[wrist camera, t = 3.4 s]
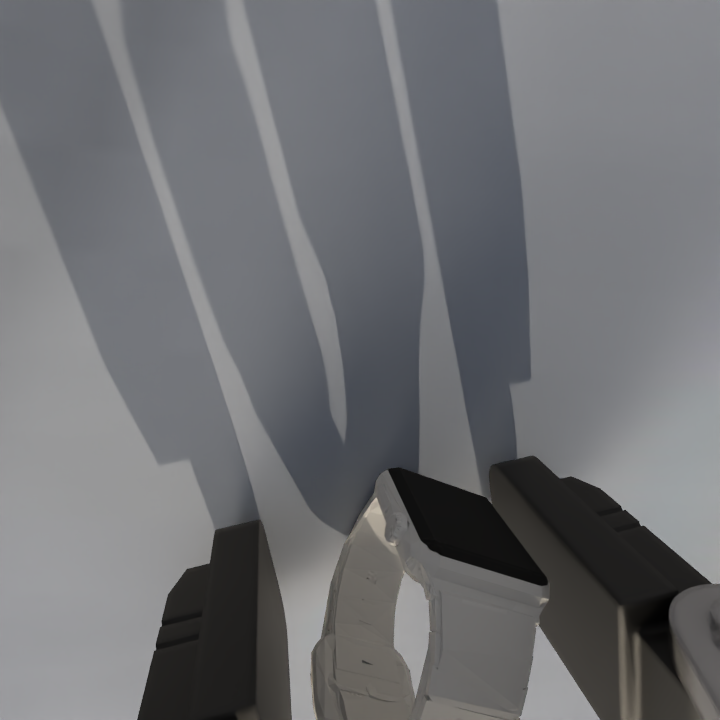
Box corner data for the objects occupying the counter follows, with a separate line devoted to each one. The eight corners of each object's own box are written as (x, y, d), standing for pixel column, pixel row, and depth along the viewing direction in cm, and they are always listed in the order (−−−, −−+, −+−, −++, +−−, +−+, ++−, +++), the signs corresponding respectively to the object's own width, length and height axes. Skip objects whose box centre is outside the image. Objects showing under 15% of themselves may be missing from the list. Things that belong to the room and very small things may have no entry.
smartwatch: (387, 639, 10) (464, 892, 6) (279, 611, 10) (293, 872, 6) (473, 470, 10) (614, 640, 6) (363, 431, 9) (438, 590, 5)
